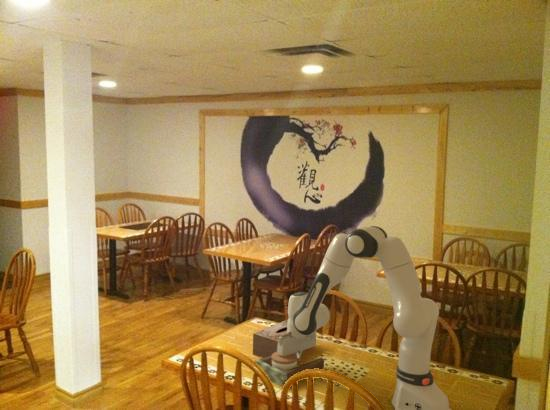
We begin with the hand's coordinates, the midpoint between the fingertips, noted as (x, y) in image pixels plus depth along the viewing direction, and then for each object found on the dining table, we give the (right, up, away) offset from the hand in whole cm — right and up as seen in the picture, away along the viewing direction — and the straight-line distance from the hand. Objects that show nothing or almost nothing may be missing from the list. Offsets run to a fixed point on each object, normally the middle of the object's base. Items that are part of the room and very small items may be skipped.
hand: (296, 361), depth 211 cm
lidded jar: (-5, -4, -5) cm, 8 cm away
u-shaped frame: (-2, -3, -2) cm, 4 cm away
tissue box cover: (-6, -2, +20) cm, 21 cm away
